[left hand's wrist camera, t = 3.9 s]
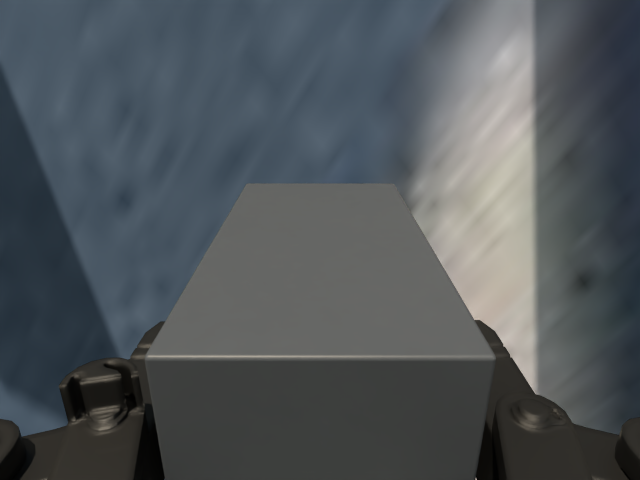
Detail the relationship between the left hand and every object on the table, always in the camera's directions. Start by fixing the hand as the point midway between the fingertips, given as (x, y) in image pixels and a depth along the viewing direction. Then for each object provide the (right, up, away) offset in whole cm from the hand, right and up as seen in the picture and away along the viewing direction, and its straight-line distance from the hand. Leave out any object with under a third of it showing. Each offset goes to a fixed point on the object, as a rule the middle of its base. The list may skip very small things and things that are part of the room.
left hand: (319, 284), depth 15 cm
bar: (0, -7, +3) cm, 7 cm away
